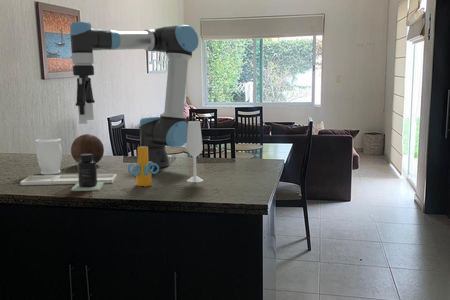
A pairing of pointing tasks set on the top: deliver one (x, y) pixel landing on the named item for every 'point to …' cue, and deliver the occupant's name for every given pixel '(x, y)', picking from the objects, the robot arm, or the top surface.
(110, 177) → the tray
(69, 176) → the tray middle
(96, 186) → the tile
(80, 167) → the supplement bottle
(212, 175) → the top surface
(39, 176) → the tray
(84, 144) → the wooden sphere
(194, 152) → the champagne flute
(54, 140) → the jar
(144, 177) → the orange and blue toy
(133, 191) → the top surface
